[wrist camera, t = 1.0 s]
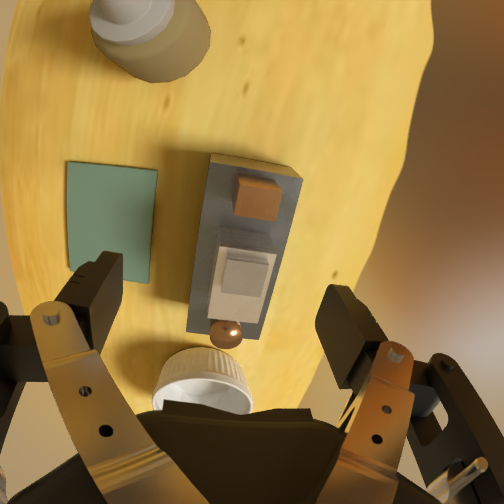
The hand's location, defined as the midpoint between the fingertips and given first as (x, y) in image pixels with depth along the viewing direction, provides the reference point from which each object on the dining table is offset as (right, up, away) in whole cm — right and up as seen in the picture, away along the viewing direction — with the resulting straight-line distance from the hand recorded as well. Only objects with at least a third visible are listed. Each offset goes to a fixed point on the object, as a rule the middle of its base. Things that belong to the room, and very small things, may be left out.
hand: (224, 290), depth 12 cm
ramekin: (-6, -16, +31) cm, 35 cm away
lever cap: (0, 0, +17) cm, 18 cm away
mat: (-14, +4, +19) cm, 25 cm away
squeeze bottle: (-7, +21, +12) cm, 25 cm away
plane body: (-1, +2, +22) cm, 22 cm away
